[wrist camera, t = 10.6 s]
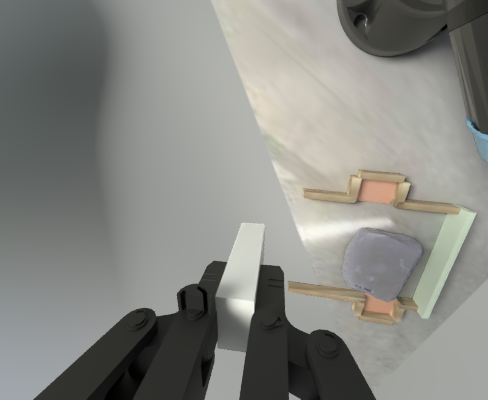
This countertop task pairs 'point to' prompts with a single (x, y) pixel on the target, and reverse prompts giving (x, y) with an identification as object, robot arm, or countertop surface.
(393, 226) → the countertop surface
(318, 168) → the countertop surface
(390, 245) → the stone block
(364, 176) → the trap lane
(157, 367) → the robot arm
